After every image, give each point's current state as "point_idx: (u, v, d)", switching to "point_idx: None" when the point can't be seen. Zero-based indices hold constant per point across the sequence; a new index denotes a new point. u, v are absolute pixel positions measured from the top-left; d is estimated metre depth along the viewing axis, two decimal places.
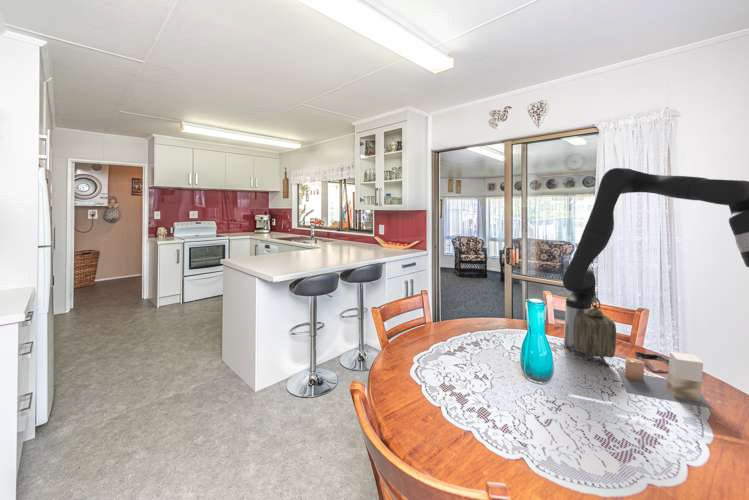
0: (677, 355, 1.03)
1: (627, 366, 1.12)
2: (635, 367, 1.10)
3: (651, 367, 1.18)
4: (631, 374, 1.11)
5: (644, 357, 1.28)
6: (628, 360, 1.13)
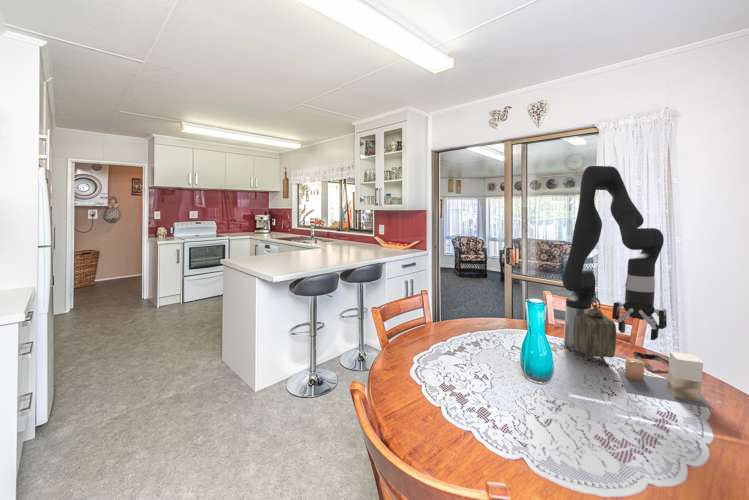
0: (677, 355, 1.03)
1: (627, 366, 1.12)
2: (635, 367, 1.10)
3: (650, 367, 1.18)
4: (631, 374, 1.11)
5: (642, 357, 1.28)
6: (628, 360, 1.13)
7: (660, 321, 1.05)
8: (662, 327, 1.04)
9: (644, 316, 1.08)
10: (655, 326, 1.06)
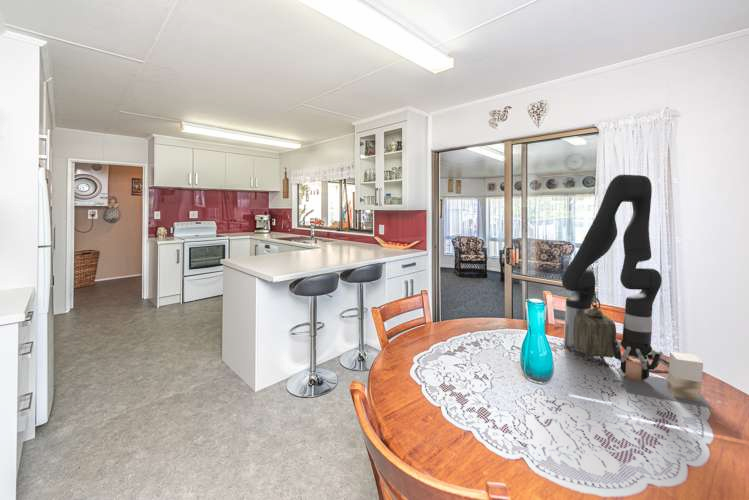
0: (677, 355, 1.03)
1: (627, 366, 1.12)
2: (635, 367, 1.10)
3: None
4: (631, 374, 1.11)
5: None
6: (628, 360, 1.13)
7: (653, 362, 1.07)
8: (653, 368, 1.07)
9: (639, 355, 1.09)
10: (646, 366, 1.09)
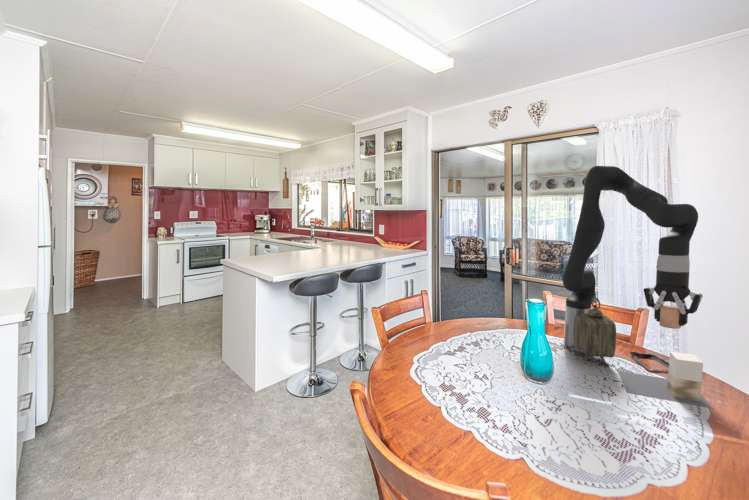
0: (677, 355, 1.03)
1: (662, 313, 1.03)
2: (671, 313, 1.01)
3: (647, 367, 1.19)
4: (667, 321, 1.02)
5: (639, 357, 1.29)
6: (663, 306, 1.04)
7: (692, 305, 0.98)
8: (692, 311, 0.98)
9: (676, 299, 1.00)
10: (684, 311, 0.99)
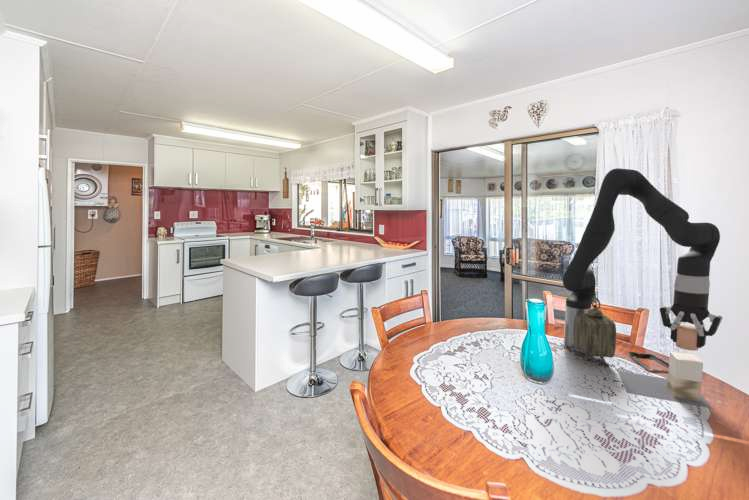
0: (677, 355, 1.03)
1: (679, 334, 1.00)
2: (689, 334, 0.98)
3: (646, 367, 1.19)
4: (684, 342, 0.99)
5: (637, 357, 1.29)
6: (680, 327, 1.01)
7: (711, 328, 0.95)
8: (711, 334, 0.95)
9: (695, 320, 0.97)
10: (702, 333, 0.97)
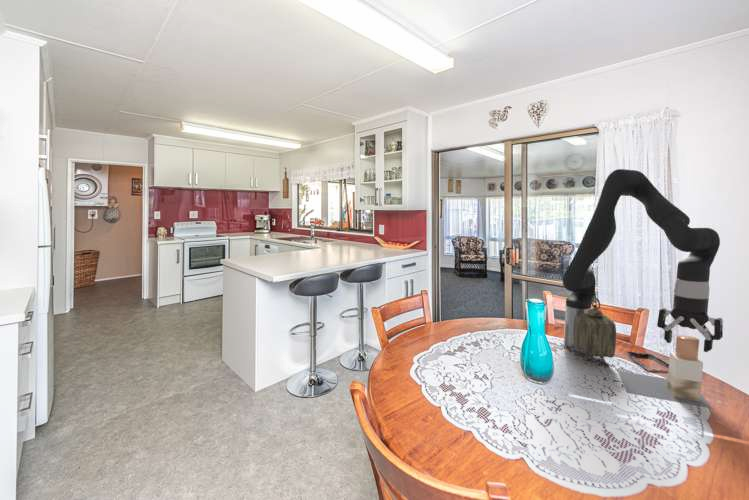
0: None
1: (679, 344, 1.01)
2: (689, 344, 0.99)
3: (645, 367, 1.19)
4: (684, 352, 0.99)
5: (636, 356, 1.29)
6: (680, 337, 1.01)
7: (716, 331, 0.94)
8: (718, 338, 0.94)
9: (696, 325, 0.97)
10: (709, 336, 0.96)
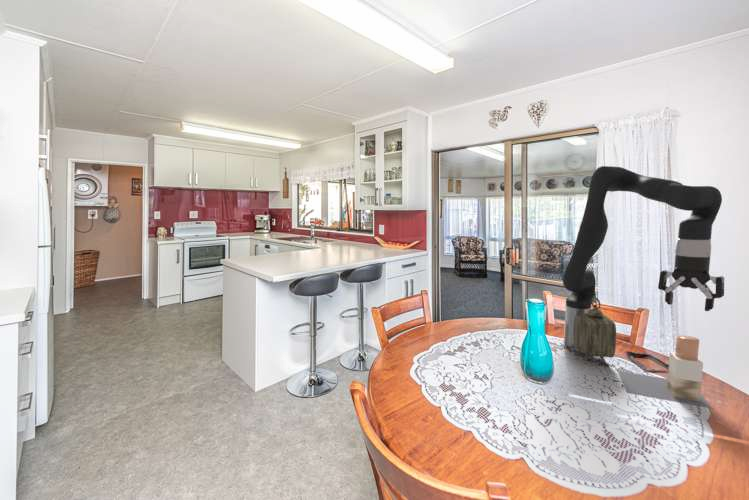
0: None
1: (679, 344, 1.01)
2: (689, 344, 0.99)
3: (644, 367, 1.19)
4: (684, 352, 0.99)
5: (635, 356, 1.29)
6: (680, 337, 1.01)
7: (717, 289, 0.94)
8: (719, 296, 0.93)
9: (698, 284, 0.97)
10: (711, 295, 0.95)
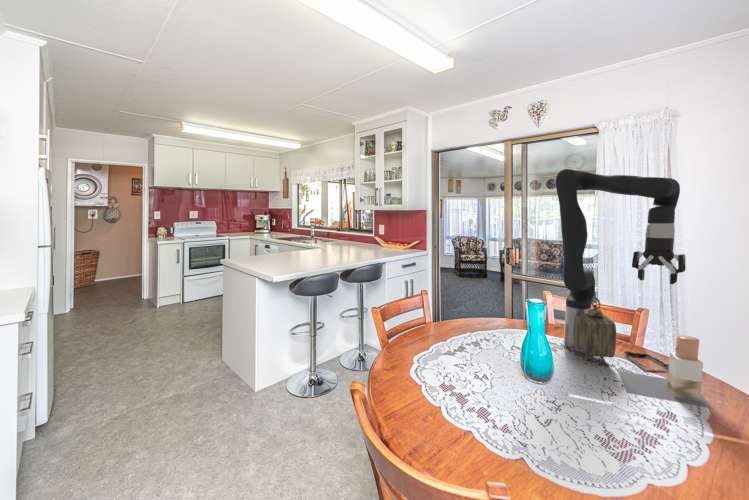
0: None
1: (679, 344, 1.01)
2: (689, 344, 0.99)
3: (642, 366, 1.19)
4: (684, 352, 0.99)
5: (633, 356, 1.29)
6: (680, 337, 1.01)
7: (679, 265, 1.10)
8: (681, 270, 1.10)
9: (664, 261, 1.13)
10: (674, 270, 1.11)
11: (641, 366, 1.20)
